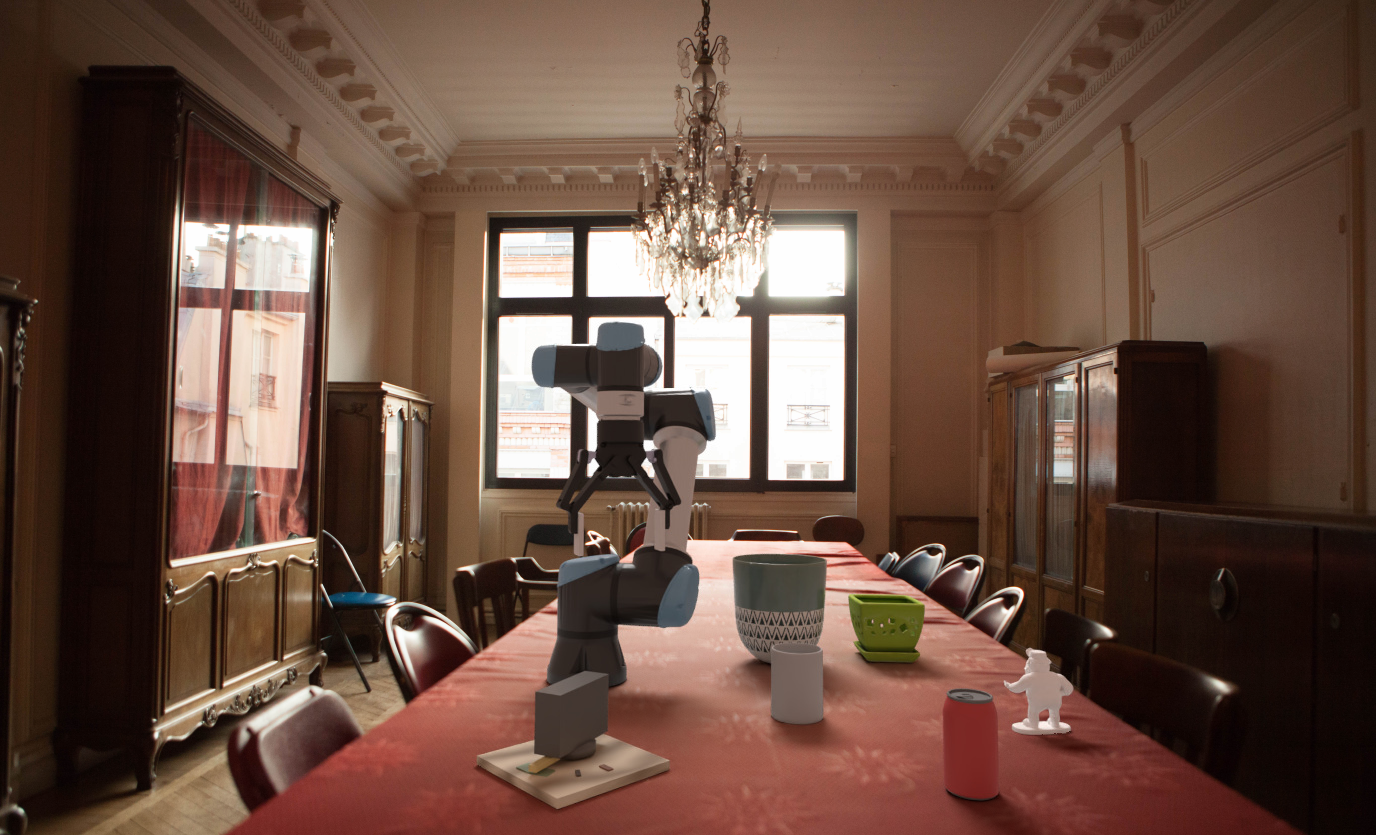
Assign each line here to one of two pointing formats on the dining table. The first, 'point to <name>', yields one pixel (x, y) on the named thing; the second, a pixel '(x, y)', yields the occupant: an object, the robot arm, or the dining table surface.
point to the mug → (797, 683)
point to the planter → (778, 600)
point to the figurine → (1041, 695)
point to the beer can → (970, 744)
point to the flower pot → (887, 626)
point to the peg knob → (570, 718)
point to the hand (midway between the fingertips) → (620, 552)
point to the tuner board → (574, 770)
